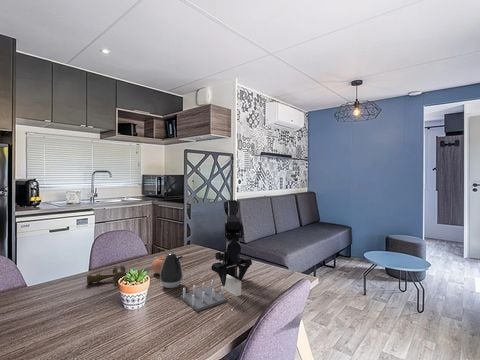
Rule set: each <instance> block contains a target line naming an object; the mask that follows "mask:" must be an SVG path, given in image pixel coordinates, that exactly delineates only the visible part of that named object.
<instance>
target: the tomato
mask: <svg viewBox="0 0 480 360" xmlns="http://www.w3.org/2000/svg"><path fill="white" fill-rule="evenodd" d="M165 258H166V256H163V257H158V258H156V259H154V260H153V261H152V263H151V270H152V272H153V273H154V274H155V273H156V274H157V275H160V273H161V268H162V265H163V262H164V260H165Z"/></svg>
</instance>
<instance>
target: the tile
mask: <svg viewBox="0 0 480 360" xmlns="http://www.w3.org/2000/svg"><path fill="white" fill-rule="evenodd" d="M224 291H226V292H228V293H230V294H231V295H233V296H235V297H239V296H241V295H242V280H241V281H240V280H239V278H237V279H236V278H234V277H232V276H230V275H228V274H227V276H226V283H225V286H224Z"/></svg>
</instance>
